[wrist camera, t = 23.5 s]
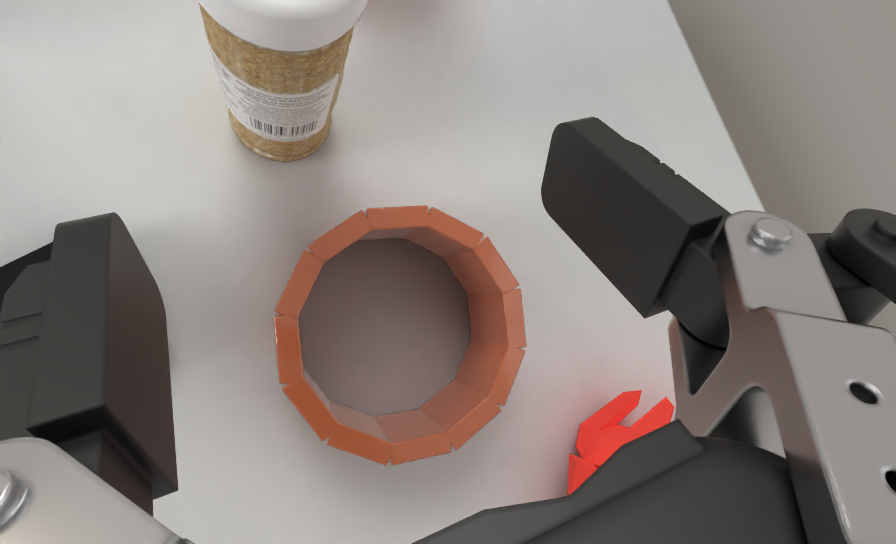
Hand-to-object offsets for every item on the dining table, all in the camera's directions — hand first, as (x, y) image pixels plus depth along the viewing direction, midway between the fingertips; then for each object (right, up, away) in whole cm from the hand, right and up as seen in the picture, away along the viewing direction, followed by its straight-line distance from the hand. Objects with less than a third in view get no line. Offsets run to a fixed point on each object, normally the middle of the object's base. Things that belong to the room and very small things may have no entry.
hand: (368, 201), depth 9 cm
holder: (-2, -4, +15) cm, 16 cm away
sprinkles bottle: (-6, +6, +14) cm, 17 cm away
